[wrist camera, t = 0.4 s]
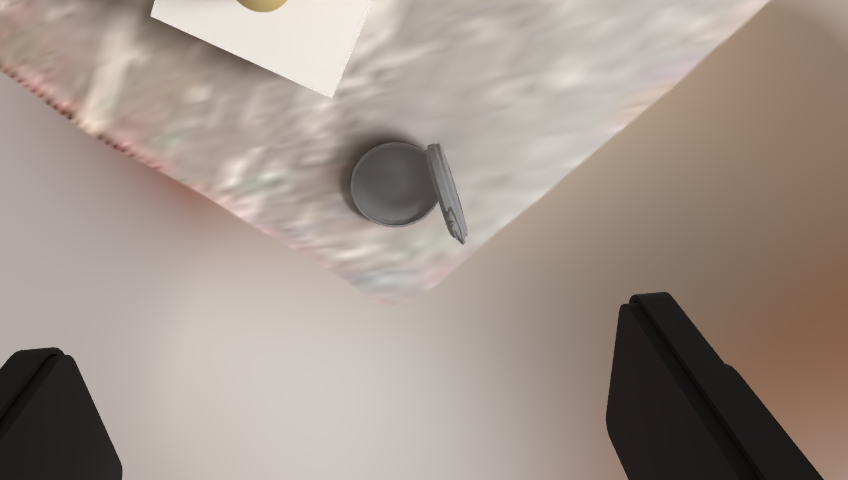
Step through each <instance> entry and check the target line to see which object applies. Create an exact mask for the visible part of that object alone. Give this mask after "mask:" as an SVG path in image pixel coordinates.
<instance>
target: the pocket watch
mask: <svg viewBox="0 0 848 480" xmlns="http://www.w3.org/2000/svg"><path fill="white" fill-rule="evenodd" d="M350 189H351V195H352V198H353V201H354V203H355V205H356V206H357V208H358V210H359V211H360V212H361V213H362V214H363V215H364V216H365V217H367V218H368V219H369V220H371V221H373V222H375V223H377V224H379V225H383V226H387V227H404V226H408V225H412V224H415V223H416V222H418V221H420V220H422V219H424V218H425V217H427V216H428V214H429V213H430V212H431V211H432V210H433V209H434V207H435V206H436V204H437V202H438V201H439V204H440V207H441V210H442V213H443V216H444V219H445V222H446V225H447V227H448V230H449V232H450V234H451V235H452V236H453V237H454V238H456V240H459V242H460V243H461V244H463V245H464V244H465V237H466V236H467V227H466V223H465V219H464V215H463V211H462V208H461V204H460V201H459V197H458V194H457V191H456V187H455V184H454V181H453V178H452V175H451V171H450V168H449V165H448V163H447V160H446V157H445V154H444V151H443V149H442V147H441V145H440V144H439V143H438V144H431V145H428V150H426V152H425V151H423V150H422V149H420V148H419V147H416V146H414V145H411V144H409V143H401V142H390V143H385V144H381V145H378V146H376V147H374V148H372V149H370V150H369V151H368V152H367V153H365V154H364V155H363V156H362V157H361V158H360V160H359V161H358V163H357V164H356V166H355V167H354V169H353V172H352V177H351V182H350Z"/></svg>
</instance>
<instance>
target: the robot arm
mask: <svg viewBox="0 0 848 480" xmlns="http://www.w3.org/2000/svg"><path fill="white" fill-rule="evenodd" d="M606 424H607V430H608V434H609V437H610V439H611V442H612V444H613V446H614V448H615V450H616V453H617V455H618V457H619V459H620V461H621V464H622V466H623V468H624V470H625V473H626V475H627V477H628V479H629V480H824V479H823V478H822V477H821V476H820V474H819V473H818V472H817V471H816V469H815V468H814V467H813V466H812V464H811V463H810V462H809V461H808V459H807V458H806V457H805V456H804V454H803V453H802V452H801V451H800V449H799V448H798V447H797V446H796V444H795V443H794V442H793V441H792V439H791V438H790V437H789V436H788V434H787V433H786V432H785V431H784V429H783V428H782V427H781V426H780V424H779V423H778V422H777V421H776V419H775V418H774V417H773V416H772V414H771V413H770V412H769V411H768V409H767V408H766V407H765V406H764V404H763V403H762V402H761V401H760V399H759V398H758V397H757V396H756V394H755V393H754V392H753V391H752V389H751V388H750V387H749V386H748V384H747V383H746V382H745V380H744V379H743V378H742V377H741V376H740V374H739V373H738V372H737V371H736V370H735V369H734V368H733V367H732V366H729V365H727V364H724V362H723V361H722V360H721V359H720V357H719V356H718V355H717V353H716V352H715V351H714V350H713V348H712V347H711V346H710V344H709V343H708V342H707V341H706V339H705V338H704V337H703V336H702V334H701V333H700V332H699V330H698V329H697V328H696V327H695V325H694V324H693V323H692V322H691V320H690V319H689V318H688V317H687V315H686V314H685V313H684V311H683V310H682V309H681V307H680V306H679V305H678V304H677V302H676V301H675V300H674V299H673V297H672V296H671V295H670V294H669V293H667V292H658V293H647V294H636V295H633V296H632V297H631V298H630V300H629V304H623V305H621V307H620V310H619V317H618V325H617V333H616V341H615V349H614V357H613V365H612V372H611V380H610V388H609V396H608V404H607V412H606ZM0 480H122V465H121V462H120V460H119V458H118V455H117V453H116V451H115V449H114V446H113V444H112V442H111V440H110V438H109V436H108V433H107V431H106V429H105V426H104V424H103V422H102V420H101V418H100V416H99V413H98V411H97V409H96V407H95V404H94V402H93V400H92V398H91V395H90V393H89V391H88V389H87V387H86V384H85V382H84V380H83V378H82V376H81V373H80V371H79V369H78V367H77V365H76V362H75V361H74V359H73V358H72V357H71V356H70V355H64V353H63V352H62V351H61V350H60V349H59V348H54V347H52V348H40V349H30V350H20V351H17V352H15V353H14V354H13V355H12V356H11V357H10V358H9V359H8V360H7V361H6V363H5V364H4V365H3V366H2V367H1V369H0Z"/></svg>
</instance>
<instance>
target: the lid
mask: <svg viewBox="0 0 848 480" xmlns="http://www.w3.org/2000/svg"><path fill="white" fill-rule="evenodd" d="M372 3H373V0H155V1H154V5H153V9H152V12H151V17H153V18H156V19H158V20H160V21H162V22H164V23H167V24H169V25H171V26H173V27H175V28H178V29H180V30H182V31H184V32H186V33H189V34H191V35H193V36H195V37H197V38H200V39H202V40H204V41H206V42H208V43H211V44H213V45H215V46H217V47H219V48H222V49H224V50H226V51H228V52H230V53H233V54H235V55H237V56H239V57H241V58H244V59H246V60H248V61H250V62H252V63H255V64H257V65H259V66H261V67H264V68H266V69H268V70H270V71H272V72H275V73H277V74H279V75H281V76H283V77H286V78H288V79H290V80H292V81H294V82H297V83H299V84H301V85H303V86H305V87H308V88H310V89H312V90H314V91H316V92H319V93H321V94H323V95H325V96H327V97H330V98H332V97H333V95H334V92H335V90H336V88H337V85H338V83H339V81H340V78H341V76H342V74H343V71H344V69H345V66H346V64H347V62H348V59H349V57H350V55H351V52H352V50H353V48H354V45H355V43H356V40H357V38H358V36H359V33H360V31H361V29H362V26H363V24H364V22H365V19H366V17H367V14H368V12H369V10H370V7H371V5H372Z"/></svg>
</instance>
